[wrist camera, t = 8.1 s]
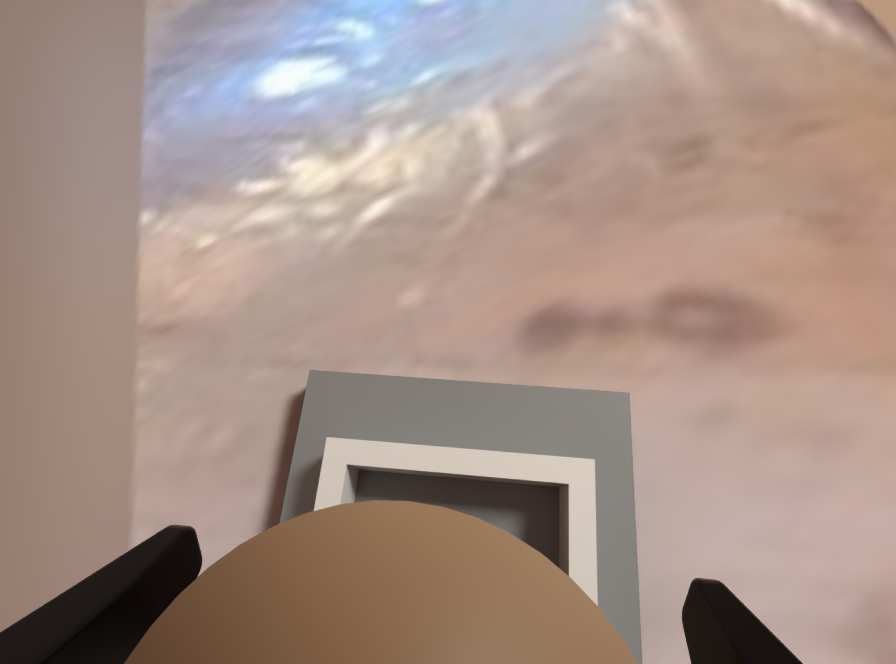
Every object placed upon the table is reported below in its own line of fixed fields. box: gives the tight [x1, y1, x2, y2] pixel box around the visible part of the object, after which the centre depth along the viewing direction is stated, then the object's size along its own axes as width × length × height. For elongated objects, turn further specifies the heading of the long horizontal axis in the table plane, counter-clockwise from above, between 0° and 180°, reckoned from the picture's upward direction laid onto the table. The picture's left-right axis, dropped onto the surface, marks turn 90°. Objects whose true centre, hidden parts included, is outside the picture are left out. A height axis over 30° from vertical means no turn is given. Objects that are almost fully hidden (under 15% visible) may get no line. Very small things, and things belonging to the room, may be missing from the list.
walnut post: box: [124, 500, 638, 664], centre depth 9 cm, size 5×5×13 cm
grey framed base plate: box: [279, 370, 642, 664], centre depth 15 cm, size 14×12×3 cm
